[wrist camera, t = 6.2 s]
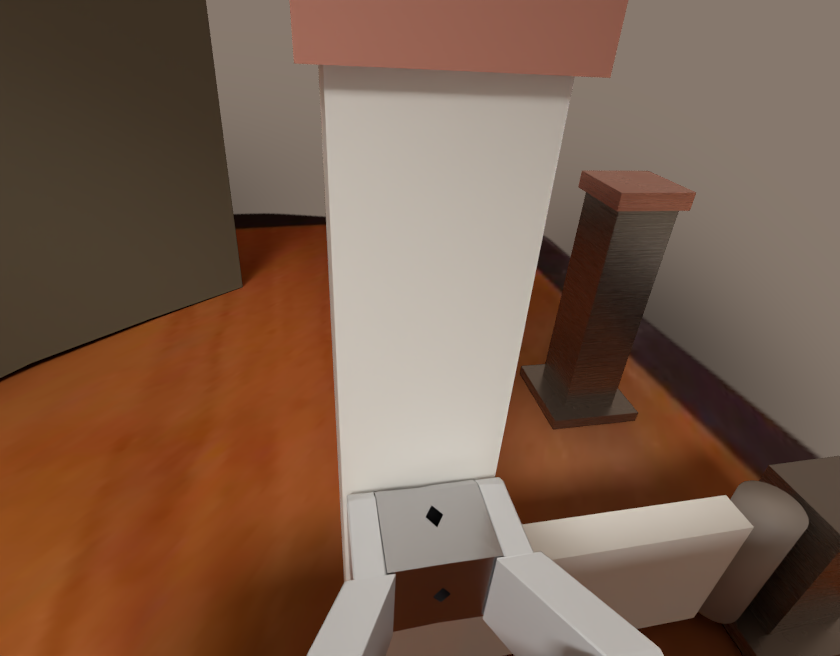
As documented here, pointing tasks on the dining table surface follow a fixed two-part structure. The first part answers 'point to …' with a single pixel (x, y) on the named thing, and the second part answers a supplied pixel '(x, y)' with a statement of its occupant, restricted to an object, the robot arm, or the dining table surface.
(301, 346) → the dining table surface
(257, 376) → the dining table surface
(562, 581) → the robot arm
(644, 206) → the post
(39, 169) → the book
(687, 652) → the dining table surface
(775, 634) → the hinge post
